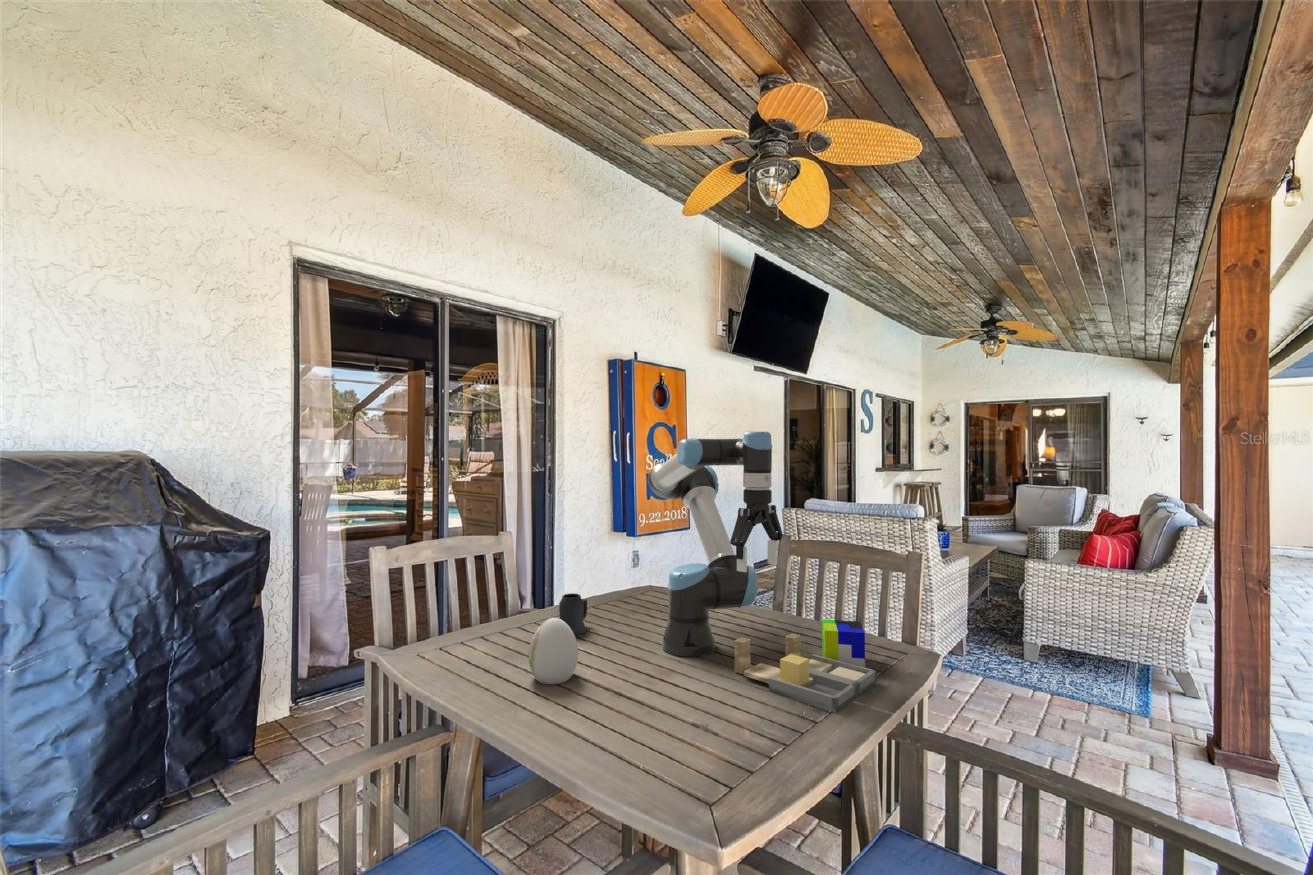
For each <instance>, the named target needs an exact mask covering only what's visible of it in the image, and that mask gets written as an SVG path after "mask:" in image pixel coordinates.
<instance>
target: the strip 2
mask: <svg viewBox="0 0 1313 875" xmlns="http://www.w3.org/2000/svg"><path fill="white" fill-rule="evenodd" d="M801 640H802V638H801V635H799V634H795V633H790V634H788V635H787V636H785V640H784V641H785V642H784V643H785V652H784V653H785V654H784V655H785V656H784V657H786V656H788V655H790V654H793V655H796V656H800V657H802V654H801V653H802V651H801V650H802V648H801V646H802V645H801V644H802V642H801ZM809 668H812V669H816V670H819V671H823V672H827V671H829V670H830V669H832V664H828V663H824V662H820V661H817V660H813V659H811V658H810V659H809Z"/></svg>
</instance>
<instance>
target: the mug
mask: <svg viewBox="0 0 1313 875" xmlns="http://www.w3.org/2000/svg"><path fill="white" fill-rule="evenodd" d="M558 606H559V609H558V611H559V619H561V620H563V621H564V622H565V623H566V624H567V625H568V626H569V627H570V628H571V630H572V632H573V633H574V636H575V637H577V636H581V635H584V634H585V633H587V629H586V625H585V623H584V620H585V618H586V617H587V615H588V599H585V598H582V596H581V595H580V594H579V593H576V592H575V593H565V594H562V597H561V600H560V601H559V603H558Z"/></svg>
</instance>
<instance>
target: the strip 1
mask: <svg viewBox="0 0 1313 875" xmlns="http://www.w3.org/2000/svg"><path fill="white" fill-rule="evenodd" d="M751 657H752V656H751V639H750V638H746V637H743V636H742V637H740V638H738V639H735V640H734V673H737V674H741V675H743V676H744V677H747V678H750V679H754V680H757V681H759V682H762V683H766V684H768V685H769V678H770V677H773V678H776V679H780V667H779V668H778V667H775V666H772V665H769V664H765V663H761V662H760V663H758V664H756V665H753V664H752V663H751ZM813 683H814V679H813V678H810V677H809V680H808V681H806V682H805V683H803V684H801V685H800V686H802V687H808V686H810V685H811V684H813Z"/></svg>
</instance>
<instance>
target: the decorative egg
mask: <svg viewBox="0 0 1313 875" xmlns="http://www.w3.org/2000/svg"><path fill="white" fill-rule="evenodd" d="M576 638H577V637H576V636H574V633H573V632H572V630H571V628H570V627H569V626H568V625H567V624H566V623H565V622H564V621H563V620H561V619H560V617H559V618H558V617H549V618H548V619H546V620H545V621H543V622H542V623H541V624H540V625H539V626H538V628H537V629H536V631H535V632H534V634H533V637H532V639H531V641H530V644H529V651H528V664H529V668H530V671H531V673H532V675H533V677H534V678H535V679H536V680H537V682H539V683H541V684H543V685H544V684H545V685H559V684H562V683H565V682H567V681H569V679H571V677H572V676H573V675H574V672H575V671H576V670H577V669H576V668H577V666H578V662H579V647H578V641H577V639H576Z"/></svg>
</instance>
